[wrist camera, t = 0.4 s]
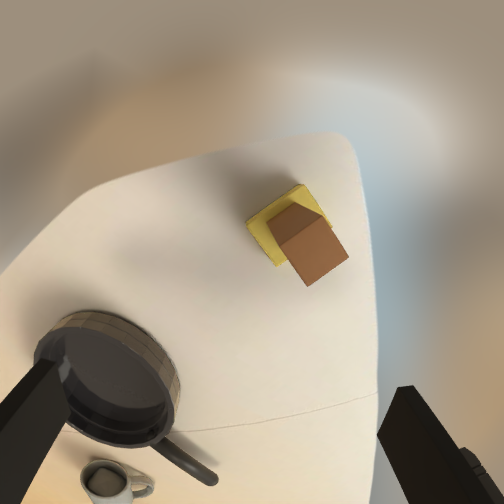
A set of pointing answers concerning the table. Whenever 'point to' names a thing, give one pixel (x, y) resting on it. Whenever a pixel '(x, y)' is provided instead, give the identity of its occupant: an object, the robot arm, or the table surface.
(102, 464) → the ceramic mug
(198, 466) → the pan handle
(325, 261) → the yellow block with handle
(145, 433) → the frying pan
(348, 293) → the table surface
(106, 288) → the table surface
